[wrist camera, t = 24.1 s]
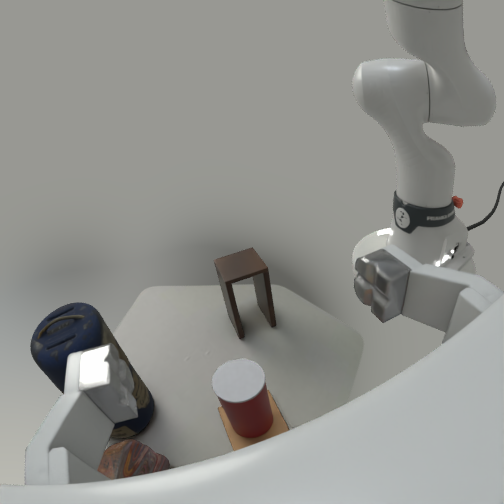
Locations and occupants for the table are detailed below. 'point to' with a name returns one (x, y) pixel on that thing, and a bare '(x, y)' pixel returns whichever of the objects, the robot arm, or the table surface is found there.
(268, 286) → the brown wooden stand
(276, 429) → the coaster
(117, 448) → the stone
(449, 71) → the robot arm
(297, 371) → the table surface
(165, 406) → the table surface
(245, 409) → the tube
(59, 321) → the canister
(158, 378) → the table surface
